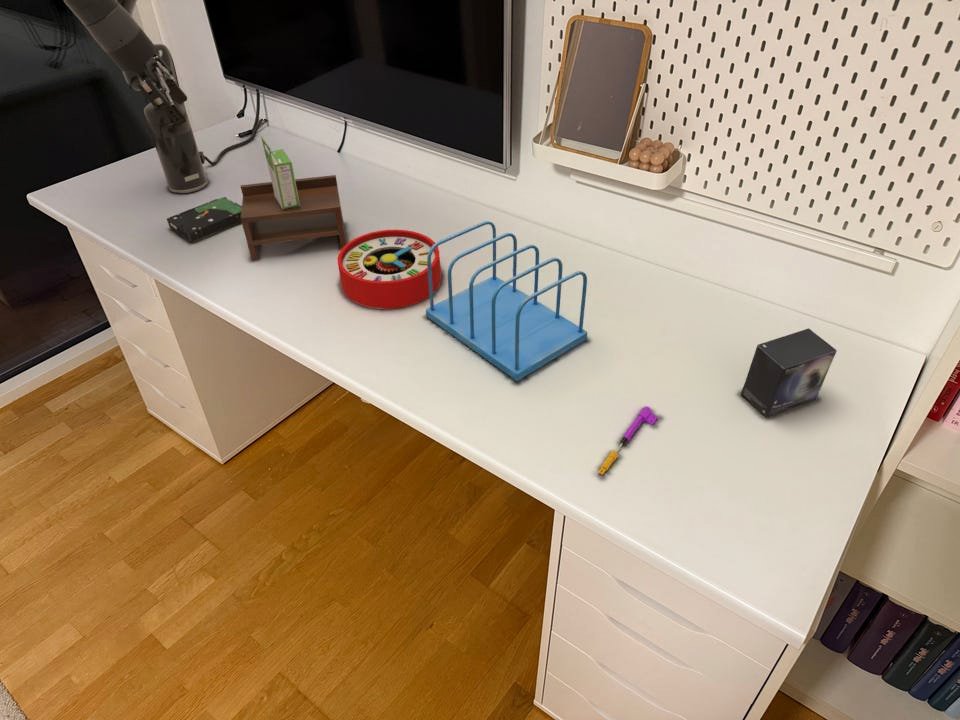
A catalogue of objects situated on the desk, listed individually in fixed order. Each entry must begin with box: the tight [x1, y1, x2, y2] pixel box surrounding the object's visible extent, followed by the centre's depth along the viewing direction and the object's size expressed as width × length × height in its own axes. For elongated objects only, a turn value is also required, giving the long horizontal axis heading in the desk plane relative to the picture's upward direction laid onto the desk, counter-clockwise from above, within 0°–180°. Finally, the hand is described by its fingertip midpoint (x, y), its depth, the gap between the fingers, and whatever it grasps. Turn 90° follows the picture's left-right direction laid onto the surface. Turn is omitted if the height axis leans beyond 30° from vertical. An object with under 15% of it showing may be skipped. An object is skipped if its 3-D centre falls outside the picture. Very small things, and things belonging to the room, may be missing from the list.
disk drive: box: [166, 196, 242, 243], centre depth 158 cm, size 10×3×15 cm
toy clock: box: [336, 229, 442, 310], centre depth 138 cm, size 20×6×20 cm
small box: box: [740, 328, 838, 418], centre depth 108 cm, size 11×6×10 cm, turn 114°
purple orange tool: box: [598, 406, 659, 476], centre depth 104 cm, size 3×1×16 cm
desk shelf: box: [240, 174, 347, 261], centre depth 148 cm, size 11×20×12 cm, turn 102°
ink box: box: [260, 135, 300, 209], centre depth 141 cm, size 7×4×13 cm, turn 26°
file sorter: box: [425, 220, 588, 382], centre depth 122 cm, size 25×17×15 cm
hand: (183, 111), depth 135 cm, fingers open, 8 cm apart
